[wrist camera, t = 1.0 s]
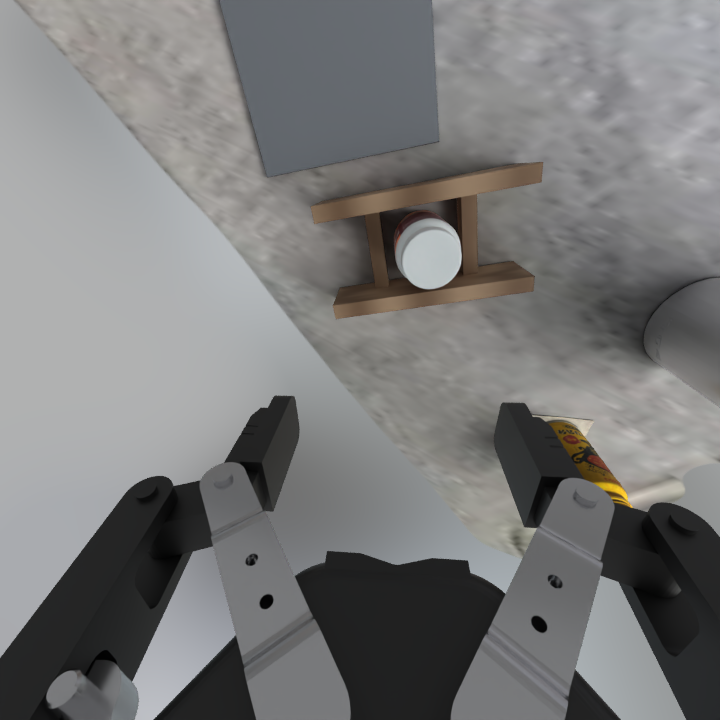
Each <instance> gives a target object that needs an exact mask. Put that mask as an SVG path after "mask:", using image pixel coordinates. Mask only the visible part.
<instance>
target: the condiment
mask: <svg viewBox="0 0 720 720" xmlns="http://www.w3.org/2000/svg"><path fill="white" fill-rule="evenodd" d="M532 416H533V417H540V418H542V419H543V420H544V421H545V422H547V423H548V424H549V425H550V426H552V428H553V430H554V431H555V433H556V434H557V436H558V439H560V441H561V442H562V444H563V446H564V448H565V449H566V450H567V452H568V454H569V455H570V457H571V458H572V460H573V462H574V463H575V465H576V466H577V468H578V470H579V471H580V473H581V474H582V476H583V478H584V479H585V480H587V481H589V482H592V483H594V484H596V485H597V486H599V487H600V488H602V489H603V490H604V491H605V492H606V493H607V494H608V495H609V496H610V497H611V499H612V500H613V502H615V503H617V504H620V505H624V506H627V507H631V508H632V506H631V505H630V503H629V502H628V497H627V494H626V492H625V490H624V489H623V488H622V486H621V484H620V482H618V481H617V480H616V478H615V477H614V476H613V474H612V473H611V472H610V470H609V469H608V467H607V466H606V465H605V463H604V462H603V460H602V459H601V458H600V457H599V455H598V454H597V453H596V451H595V450H594V448H593V447H592V446H591V444H590V443H589V442H588V441H587V439H586V438H585V437H586V435H587V433H588V431H589V429H590V427H591V425H592V424H593V422H594V421H591V420H582V419H574V418H564V417H552V416H536V415H532Z"/></svg>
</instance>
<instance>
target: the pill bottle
mask: <svg viewBox="0 0 720 720" xmlns="http://www.w3.org/2000/svg"><path fill="white" fill-rule="evenodd" d="M394 250H395V258H396V262H397V267H398V268H399V270H400V272H401V273H402V274H403V275H404V276H405V277H406V278H407V279H408V280H409V281H410V282H411V283H412V284H414V285H415V286H417V287H419V288H423V289H435V288H439V287H442V286H444V285H445V284H447V283H448V282H450V281H451V280H452V279H453V278H454V277H455V275H456V274H457V272H458V270H459V268H460V265H461V260H462V253H461V244H460V240H459V237H458V235H457V233H456V231H455V230H454V228H453V227H452V226H451V225H449V224H448V223H447V222H446V221H444V220H443V219H442V218H441V217H440V216H439V215H437V214H436V213H434V212H431V211H427V210H419V211H415V212H412V213H410V214H408V215H407V216H405V217H404V218H403V219H402V220H401V221H400V223H399V224H398V226H397V228H396V230H395V234H394Z"/></svg>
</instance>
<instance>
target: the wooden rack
mask: <svg viewBox="0 0 720 720" xmlns="http://www.w3.org/2000/svg"><path fill="white" fill-rule="evenodd" d="M542 169H543V162H536V163H518V164H512V165H507V166H502V167H497V168H492V169H486V170H481V171H476V172H471V173H466V174H461V175H455V176H450V177H445V178H440V179H435V180H429V181H424V182H419V183H414V184H409V185H404V186H398V187H393V188H388V189H383V190H378V191H372V192H367V193H362V194H357V195H352V196H347V197H341V198H336V199H331V200H326V201H321V202H319V203H317V204H315V205H313V206H311V211H312V215H313V220H314V224H317V223H322V222H328V221H333V220H339V219H344V218H350V217H355V216H361V215H364V217H365V223H366V230H367V236H368V242H369V249H370V255H371V262H372V268H373V274H374V281H375V282H374V283H368V284H361V285H355V286H348V287H342V288H340V289H339V292H338V294H337V297H336V299H335V302H334V304H333V308H334V313H335V317H336V319H339V318H346V317H354V316H361V315H368V314H375V313H382V312H389V311H396V310H403V309H411V308H418V307H425V306H432V305H439V304H446V303H453V302H460V301H468V300H475V299H482V298H489V297H496V296H503V295H510V294H517V293H525V292H532V291H534V277H535V276H533V275H532V274H531V273H529V272H528V271H526V270H525V269H524V268H522V267H521V266H519V265H518V264H516V263H515V262H514V261H511V262H504V263H498V264H491V265H485V266H478V245H477V194H480V193H486V192H491V191H497V190H502V189H508V188H513V187H519V186H524V185H529V184H535V183H540V182H542ZM453 198H457V223H458V237H459V240H460V244H461V253H462V260H461V265H460V268H459V270H458V272H457V274H456V275H455V277H454V278H453V279H452V280H451V281H450V282H448V283H447V284H445V285H444V286H442V287H439V288H435V289H423V288H419V287H417V286H415V285H414V284H412V283H411V282H410V281H409V280H408V279H407V278H400V279H394V280H389V278H388V271H387V263H386V256H385V249H384V241H383V234H382V227H381V219H380V212H382V211H388V210H393V209H399V208H404V207H410V206H415V205H420V204H426V203H431V202H437V201H442V200H448V199H453Z"/></svg>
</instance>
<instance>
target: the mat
mask: <svg viewBox="0 0 720 720" xmlns="http://www.w3.org/2000/svg"><path fill="white" fill-rule="evenodd" d="M219 1H220V5H221V9H222V12H223V16H224V20H225V23H226V27H227V31H228V34H229V38H230V42H231V45H232V49H233V53H234V57H235V60H236V64H237V68H238V71H239V75H240V79H241V82H242V86H243V90H244V93H245V97H246V101H247V104H248V108H249V112H250V116H251V119H252V123H253V127H254V130H255V134H256V138H257V141H258V145H259V149H260V152H261V156H262V160H263V163H264V167H265V171H266V175H267V177H272V176H277V175H282V174H286V173H291V172H296V171H301V170H306V169H310V168H315V167H320V166H325V165H330V164H334V163H339V162H344V161H349V160H354V159H358V158H363V157H368V156H373V155H378V154H382V153H387V152H392V151H397V150H402V149H406V148H411V147H416V146H421V145H426V144H430V143H435V142H439V129H438V110H437V91H436V72H435V53H434V34H433V15H432V0H219Z"/></svg>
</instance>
